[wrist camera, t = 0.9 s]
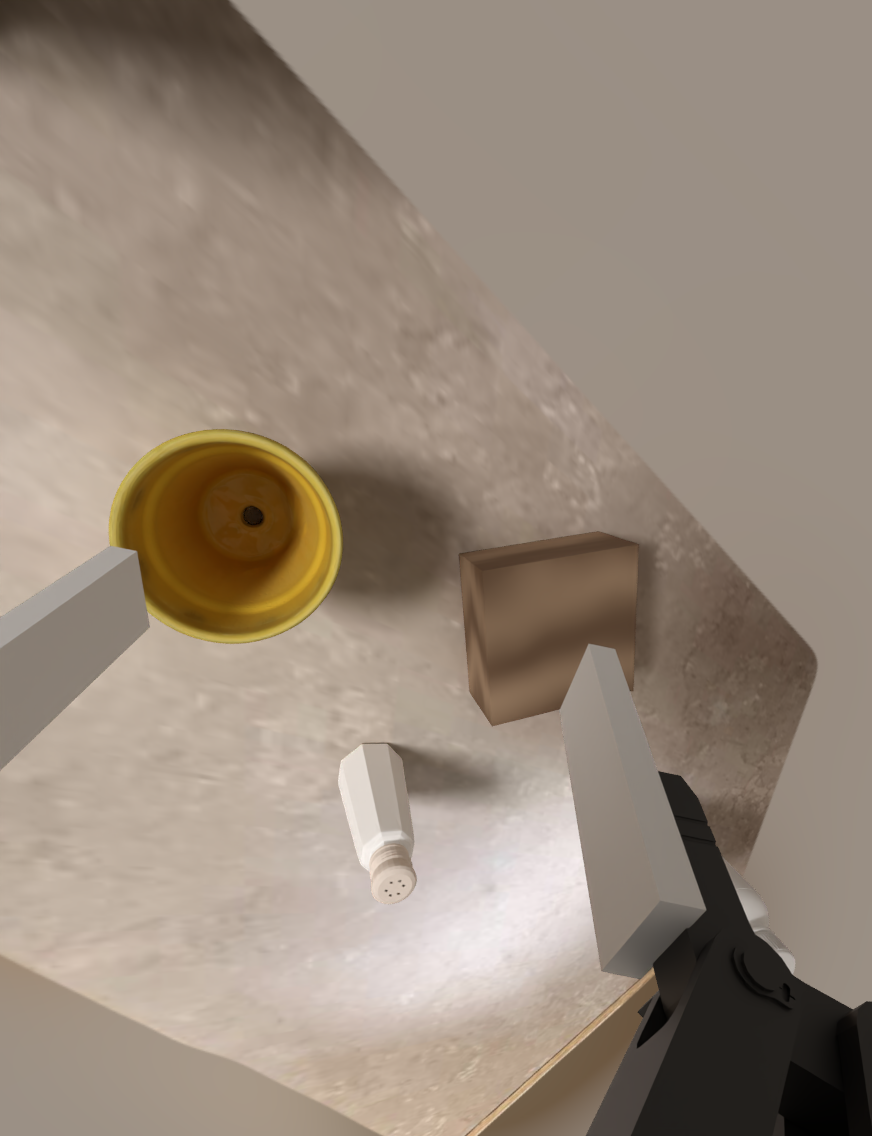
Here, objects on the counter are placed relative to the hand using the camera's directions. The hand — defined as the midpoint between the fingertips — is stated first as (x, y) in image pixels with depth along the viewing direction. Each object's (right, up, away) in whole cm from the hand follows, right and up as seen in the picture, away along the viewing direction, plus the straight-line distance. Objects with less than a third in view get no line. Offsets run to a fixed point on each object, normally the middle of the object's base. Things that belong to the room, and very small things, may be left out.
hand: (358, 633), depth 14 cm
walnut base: (+10, -2, +25) cm, 27 cm away
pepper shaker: (-3, -15, +25) cm, 29 cm away
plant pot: (-10, +6, +18) cm, 21 cm away
